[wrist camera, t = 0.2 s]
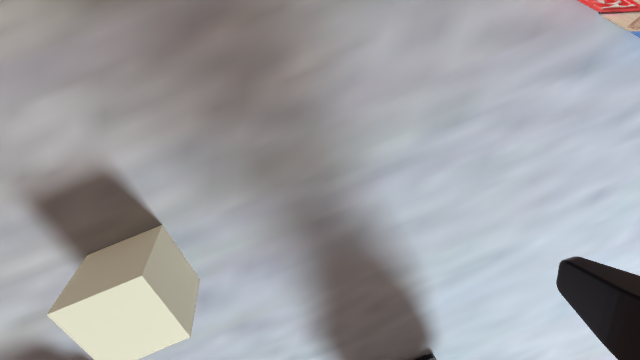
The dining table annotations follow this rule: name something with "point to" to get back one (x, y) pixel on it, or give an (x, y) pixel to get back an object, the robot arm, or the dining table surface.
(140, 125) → the dining table surface
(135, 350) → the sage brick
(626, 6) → the stack of blocks
